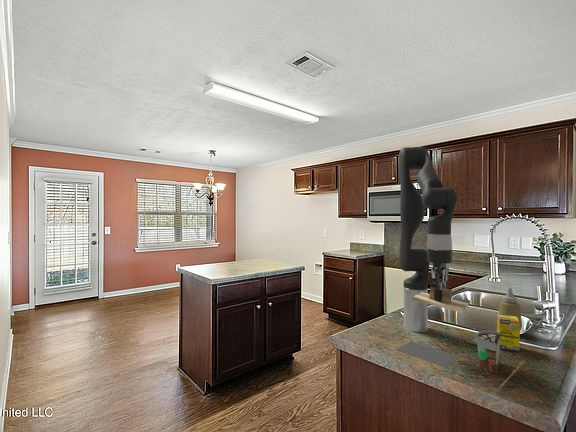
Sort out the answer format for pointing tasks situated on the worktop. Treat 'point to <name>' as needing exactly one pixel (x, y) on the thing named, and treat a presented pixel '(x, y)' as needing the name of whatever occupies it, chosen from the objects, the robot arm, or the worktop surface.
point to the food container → (488, 350)
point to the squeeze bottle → (510, 306)
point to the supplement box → (508, 332)
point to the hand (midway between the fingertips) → (439, 299)
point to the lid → (445, 302)
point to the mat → (428, 354)
